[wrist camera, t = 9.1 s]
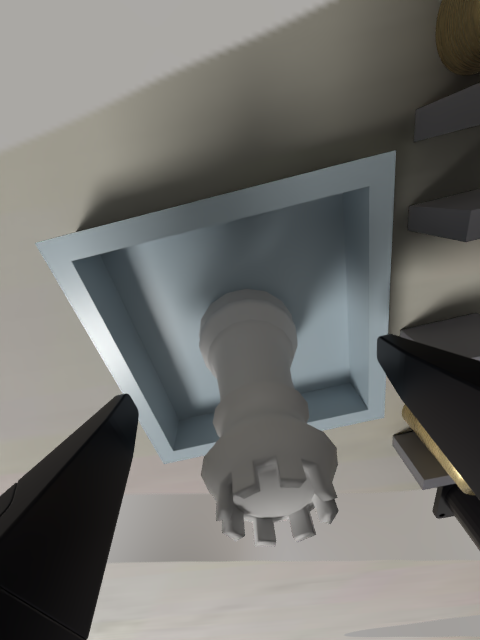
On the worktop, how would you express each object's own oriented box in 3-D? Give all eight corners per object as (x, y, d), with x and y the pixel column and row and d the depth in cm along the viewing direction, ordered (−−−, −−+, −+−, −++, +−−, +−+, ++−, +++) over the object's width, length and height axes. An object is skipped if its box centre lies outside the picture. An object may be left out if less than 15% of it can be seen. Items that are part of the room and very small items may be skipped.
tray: (360, 384, 15) (384, 417, 13) (172, 425, 16) (163, 464, 13) (356, 159, 10) (396, 150, 8) (75, 232, 10) (34, 243, 8)
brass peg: (445, 418, 17) (515, 488, 13) (400, 428, 17) (455, 500, 13) (452, 384, 16) (532, 450, 12) (403, 395, 16) (465, 464, 12)
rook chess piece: (307, 303, 12) (434, 467, 5) (269, 375, 14) (319, 574, 7) (217, 270, 11) (207, 416, 4) (188, 352, 13) (144, 556, 6)
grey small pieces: (450, 433, 18) (491, 476, 15) (392, 445, 18) (422, 490, 15) (583, -171, 7) (819, -409, 4) (432, -125, 7) (563, -324, 4)
